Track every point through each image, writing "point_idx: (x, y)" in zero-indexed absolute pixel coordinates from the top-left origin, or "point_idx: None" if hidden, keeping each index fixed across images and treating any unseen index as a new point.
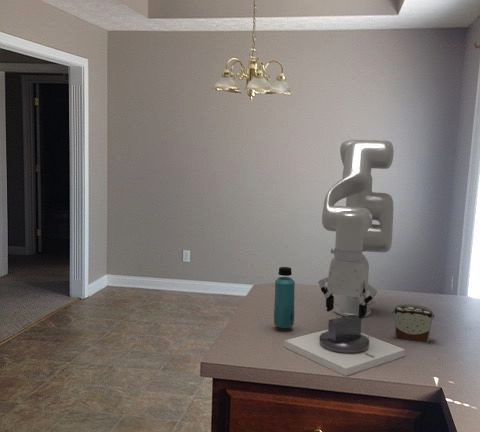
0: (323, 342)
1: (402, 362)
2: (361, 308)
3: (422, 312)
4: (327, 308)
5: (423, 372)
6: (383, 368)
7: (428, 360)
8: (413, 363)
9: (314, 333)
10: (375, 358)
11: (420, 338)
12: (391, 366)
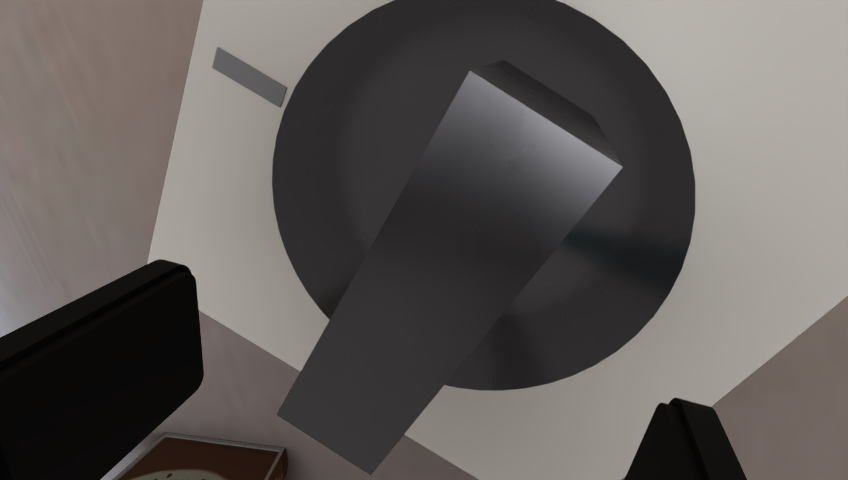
0: (629, 48)
1: (148, 172)
2: (13, 341)
3: None
4: (715, 438)
5: (25, 83)
6: (183, 22)
7: (82, 251)
8: (108, 184)
9: (751, 358)
10: (201, 40)
11: (177, 452)
12: (164, 82)
